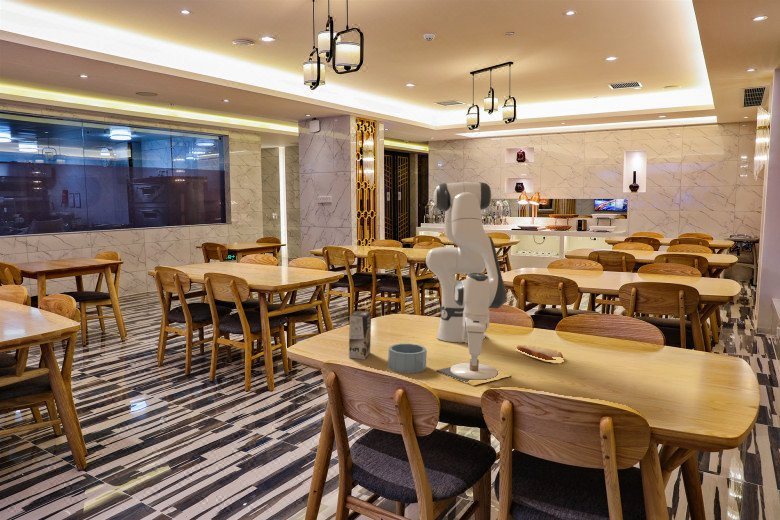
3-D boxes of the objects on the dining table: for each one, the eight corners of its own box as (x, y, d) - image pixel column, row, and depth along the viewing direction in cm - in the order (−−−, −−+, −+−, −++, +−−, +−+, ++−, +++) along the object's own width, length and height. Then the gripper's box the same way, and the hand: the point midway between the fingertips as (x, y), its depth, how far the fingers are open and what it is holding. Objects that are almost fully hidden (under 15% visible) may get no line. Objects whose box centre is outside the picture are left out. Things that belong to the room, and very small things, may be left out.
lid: (473, 363, 201) (473, 351, 201) (507, 375, 188) (508, 362, 188) (440, 370, 191) (441, 357, 191) (474, 383, 179) (474, 370, 178)
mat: (473, 363, 202) (473, 361, 202) (511, 376, 188) (511, 375, 188) (436, 371, 192) (436, 370, 192) (473, 386, 177) (473, 385, 177)
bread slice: (515, 348, 225) (515, 339, 224) (561, 352, 221) (561, 343, 220) (514, 361, 207) (515, 351, 207) (565, 366, 203) (565, 356, 203)
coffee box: (365, 359, 203) (366, 316, 202) (348, 358, 205) (349, 315, 203) (370, 352, 212) (371, 311, 210) (354, 351, 214) (355, 310, 212)
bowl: (409, 360, 204) (410, 341, 204) (432, 369, 194) (433, 350, 193) (381, 366, 197) (381, 346, 196) (403, 376, 186) (404, 355, 186)
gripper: (466, 314, 198) (465, 352, 200) (466, 327, 178) (464, 369, 180) (484, 315, 197) (482, 353, 199) (485, 328, 177) (484, 370, 179)
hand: (474, 361), depth 189 cm, fingers open, 8 cm apart
